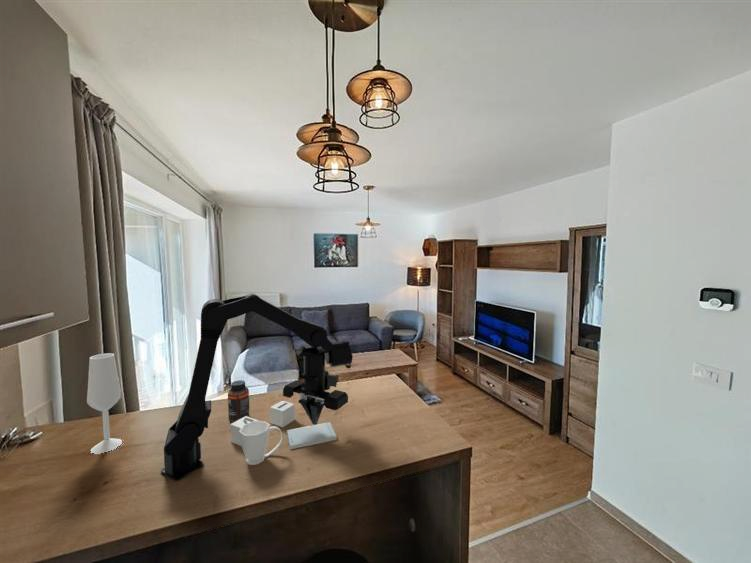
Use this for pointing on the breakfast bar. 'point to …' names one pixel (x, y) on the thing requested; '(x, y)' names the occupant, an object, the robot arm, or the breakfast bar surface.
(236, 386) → the supplement bottle
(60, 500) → the breakfast bar surface
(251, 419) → the block seven
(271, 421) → the block one
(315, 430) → the hard drive
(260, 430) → the cup
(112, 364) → the champagne flute
